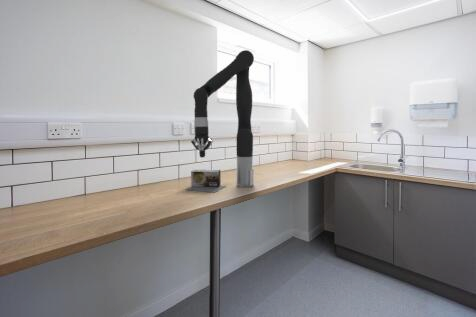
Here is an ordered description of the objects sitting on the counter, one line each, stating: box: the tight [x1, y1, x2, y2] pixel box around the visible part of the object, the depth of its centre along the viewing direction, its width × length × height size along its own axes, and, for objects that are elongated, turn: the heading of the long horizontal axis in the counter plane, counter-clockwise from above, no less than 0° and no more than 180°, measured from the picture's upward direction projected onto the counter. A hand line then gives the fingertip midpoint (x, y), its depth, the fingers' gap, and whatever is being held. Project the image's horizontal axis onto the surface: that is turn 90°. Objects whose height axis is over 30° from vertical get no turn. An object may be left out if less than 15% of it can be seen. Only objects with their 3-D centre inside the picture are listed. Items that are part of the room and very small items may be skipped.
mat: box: [185, 185, 227, 193], centre depth 147 cm, size 18×15×1 cm
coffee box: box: [190, 169, 222, 187], centre depth 151 cm, size 9×6×16 cm
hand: (202, 157), depth 146 cm, fingers closed
